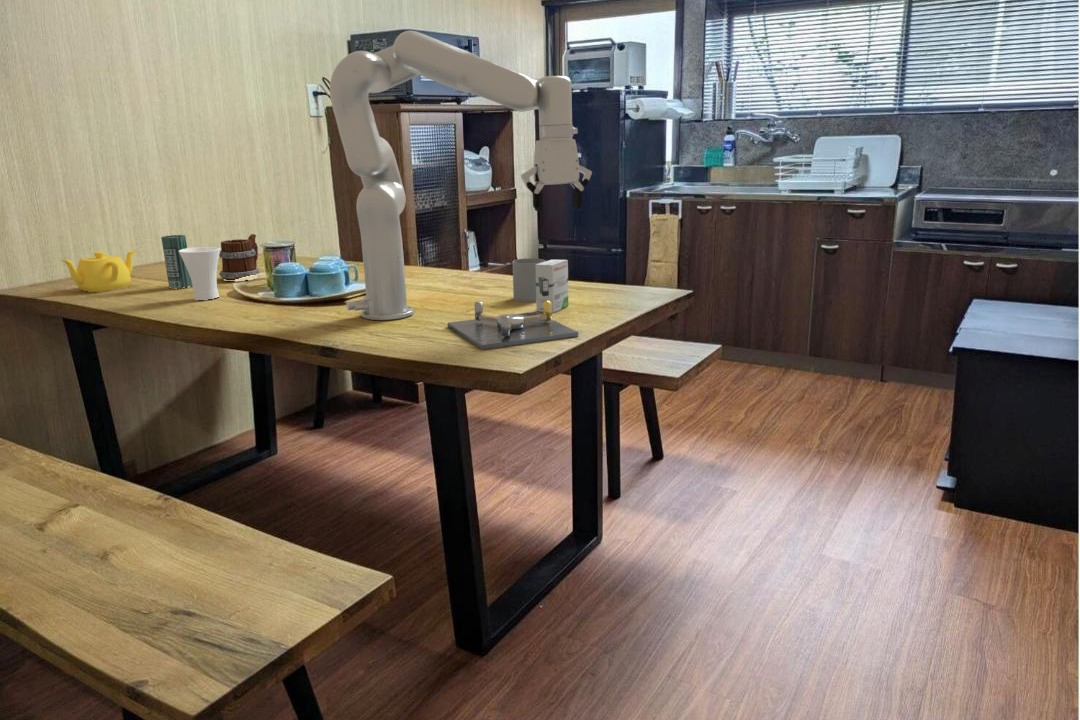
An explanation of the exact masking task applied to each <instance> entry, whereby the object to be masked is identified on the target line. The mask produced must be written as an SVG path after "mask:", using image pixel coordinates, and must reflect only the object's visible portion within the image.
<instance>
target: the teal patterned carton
mask: <svg viewBox="0 0 1080 720" xmlns="http://www.w3.org/2000/svg"><path fill="white" fill-rule="evenodd" d="M161 244H162V251H163V256H164V262H165V269H166V276H167V282H168V283H167V284H168V288H169V287H171V288H183V287H188V286H192V281H191V278H190V275H189V272H188V270H187V268H186V265H185V263H184V261H183V259H182V257H181V255H180V253H179V250H182V249H186V248H188V245H187V237H186V235H184V234H172V235H165V236H164V235H163V236H161ZM192 287H193V286H192Z"/></svg>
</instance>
